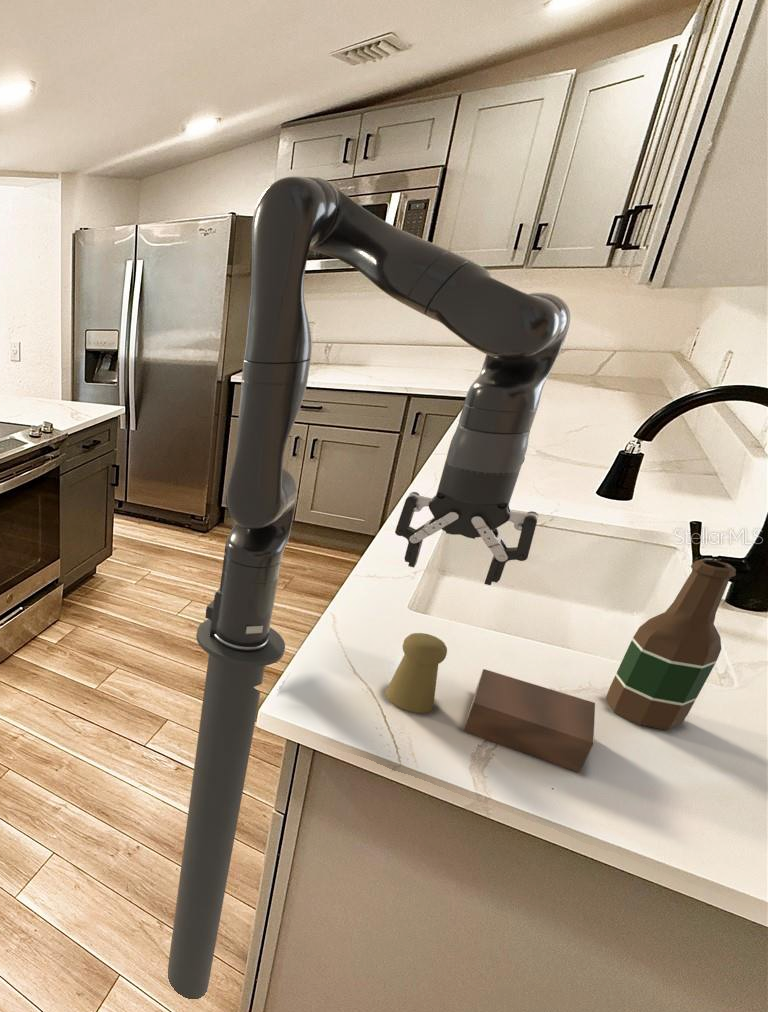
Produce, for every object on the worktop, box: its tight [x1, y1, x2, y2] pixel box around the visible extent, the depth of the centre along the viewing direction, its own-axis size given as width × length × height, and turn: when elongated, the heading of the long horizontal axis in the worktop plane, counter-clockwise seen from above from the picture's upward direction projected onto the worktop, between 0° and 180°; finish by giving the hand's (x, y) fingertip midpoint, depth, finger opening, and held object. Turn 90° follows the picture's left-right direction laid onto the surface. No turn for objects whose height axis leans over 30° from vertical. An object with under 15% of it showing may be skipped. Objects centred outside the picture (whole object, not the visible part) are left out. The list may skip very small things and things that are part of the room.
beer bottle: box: [605, 558, 737, 731], centre depth 83 cm, size 8×8×24 cm
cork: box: [384, 632, 448, 714], centre depth 90 cm, size 6×6×11 cm
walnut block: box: [463, 668, 596, 774], centre depth 85 cm, size 12×10×5 cm
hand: (449, 573), depth 85 cm, fingers open, 8 cm apart
